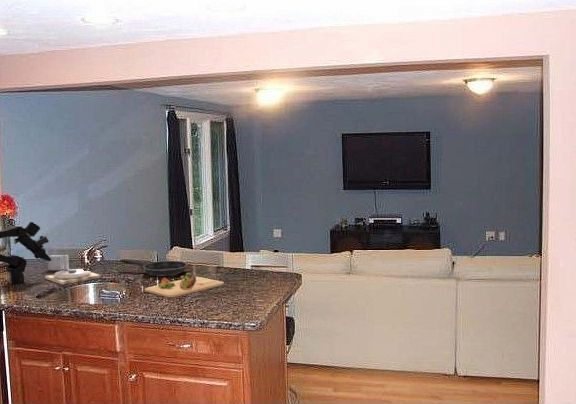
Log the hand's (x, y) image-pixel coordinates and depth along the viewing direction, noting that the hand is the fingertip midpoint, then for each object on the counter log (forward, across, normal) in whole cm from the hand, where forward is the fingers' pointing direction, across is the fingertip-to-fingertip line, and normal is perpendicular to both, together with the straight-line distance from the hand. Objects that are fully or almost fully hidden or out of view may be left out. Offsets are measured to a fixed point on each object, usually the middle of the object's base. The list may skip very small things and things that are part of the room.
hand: (51, 260), depth 332 cm
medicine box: (+10, +24, +4) cm, 26 cm away
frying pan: (+46, -17, -31) cm, 58 cm away
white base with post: (+13, -7, -2) cm, 15 cm away
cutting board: (+50, -62, -35) cm, 87 cm away
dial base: (+14, -7, 0) cm, 16 cm away
